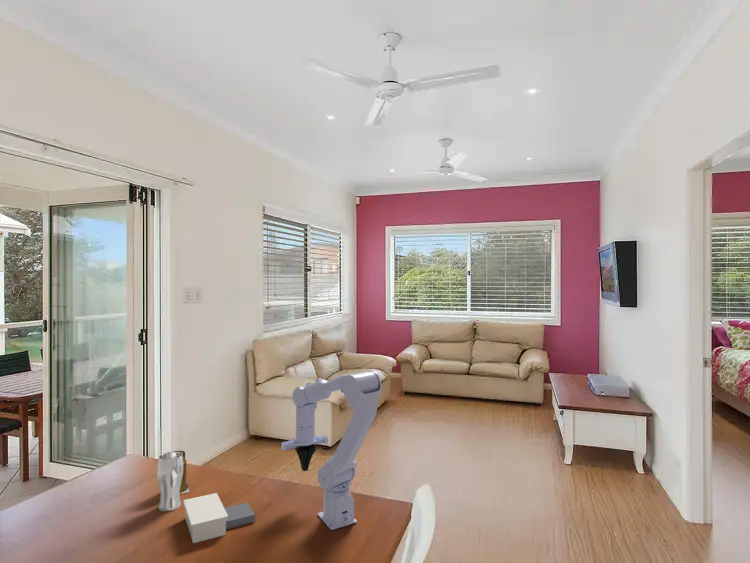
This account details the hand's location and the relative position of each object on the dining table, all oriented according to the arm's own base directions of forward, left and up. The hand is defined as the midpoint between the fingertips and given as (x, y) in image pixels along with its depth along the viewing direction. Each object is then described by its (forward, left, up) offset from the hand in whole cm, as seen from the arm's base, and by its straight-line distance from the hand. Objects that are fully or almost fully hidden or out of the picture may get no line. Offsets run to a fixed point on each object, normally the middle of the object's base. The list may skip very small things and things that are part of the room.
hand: (304, 469), depth 136 cm
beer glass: (+16, +36, -10) cm, 41 cm away
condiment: (+27, +33, -10) cm, 44 cm away
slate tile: (-1, +24, -10) cm, 26 cm away
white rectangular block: (-1, +29, -9) cm, 30 cm away
